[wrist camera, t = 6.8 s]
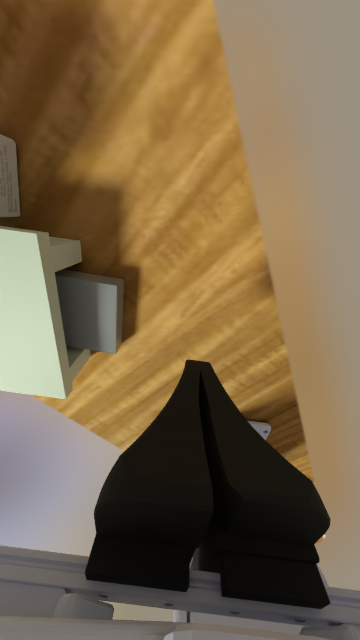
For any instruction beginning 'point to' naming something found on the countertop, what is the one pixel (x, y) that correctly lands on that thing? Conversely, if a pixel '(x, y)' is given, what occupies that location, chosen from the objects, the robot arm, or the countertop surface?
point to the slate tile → (91, 310)
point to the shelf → (35, 314)
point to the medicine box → (8, 179)
